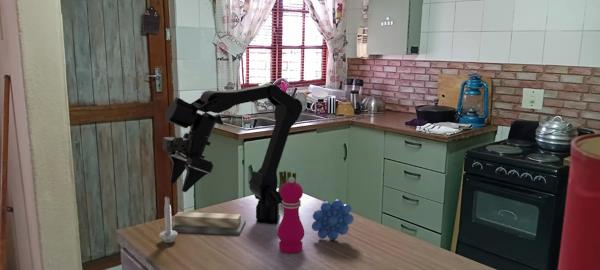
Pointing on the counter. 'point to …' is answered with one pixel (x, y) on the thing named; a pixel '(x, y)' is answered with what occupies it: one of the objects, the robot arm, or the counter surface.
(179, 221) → the stand
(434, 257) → the counter surface
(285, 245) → the pepper mill
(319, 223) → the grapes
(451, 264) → the counter surface
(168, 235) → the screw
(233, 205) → the counter surface
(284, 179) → the fennel bulb
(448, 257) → the counter surface
